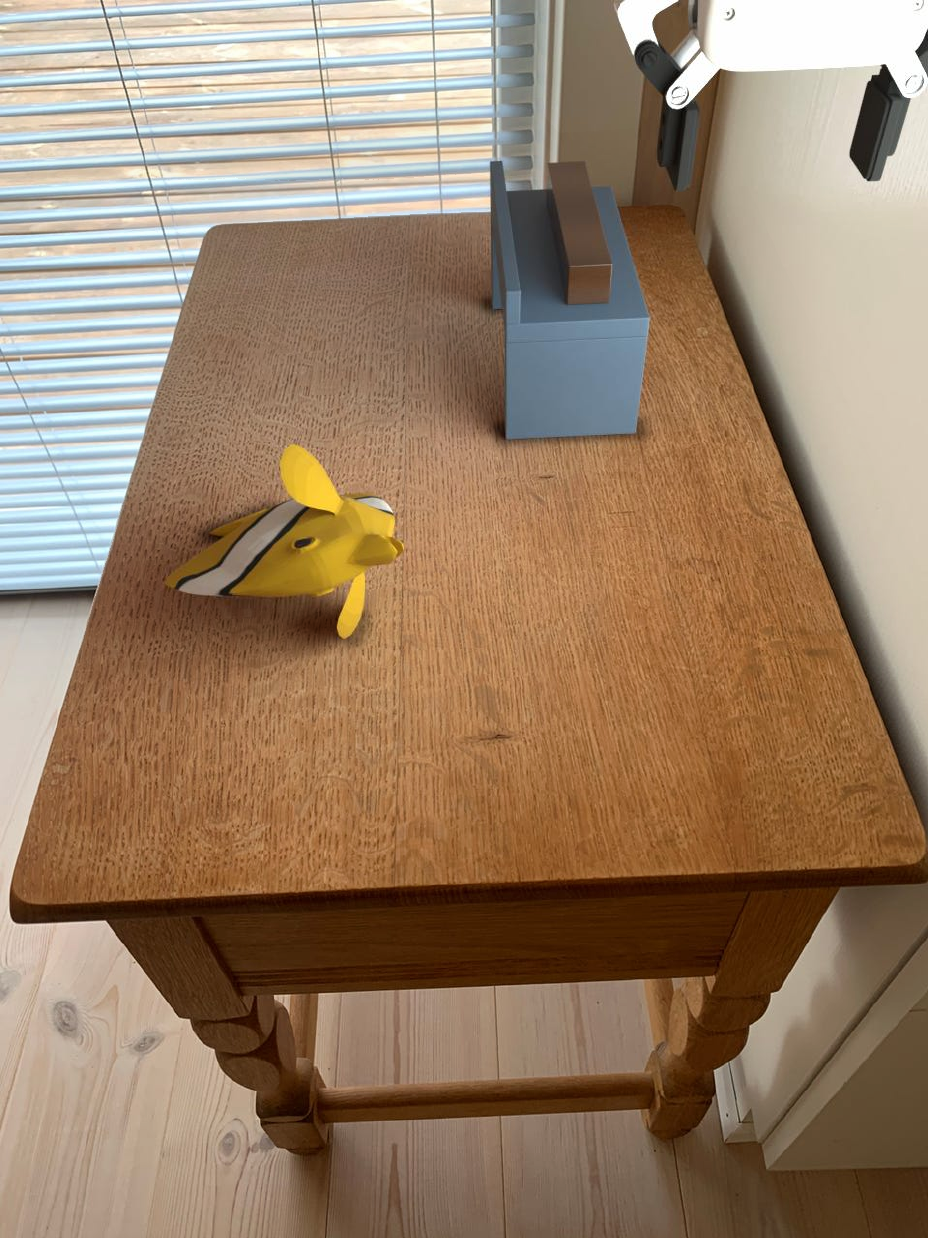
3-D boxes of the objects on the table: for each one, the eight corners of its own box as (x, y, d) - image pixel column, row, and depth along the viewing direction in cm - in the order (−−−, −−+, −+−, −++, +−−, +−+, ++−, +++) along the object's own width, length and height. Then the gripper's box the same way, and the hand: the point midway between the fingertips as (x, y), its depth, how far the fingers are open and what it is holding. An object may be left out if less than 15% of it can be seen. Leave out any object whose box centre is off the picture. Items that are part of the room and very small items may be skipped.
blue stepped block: (602, 295, 89) (613, 154, 79) (635, 433, 76) (654, 284, 66) (491, 300, 89) (490, 160, 79) (505, 439, 76) (505, 291, 66)
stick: (609, 303, 69) (612, 263, 67) (566, 305, 69) (568, 265, 67) (583, 197, 80) (585, 160, 78) (546, 199, 80) (547, 162, 78)
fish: (427, 419, 54) (171, 524, 49) (486, 617, 59) (259, 732, 54) (305, 400, 71) (103, 476, 65) (359, 556, 76) (176, 639, 70)
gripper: (651, -243, 35) (612, 217, 48) (1130, -266, 35) (964, 200, 48) (621, -274, 40) (593, 150, 53) (1042, -294, 40) (912, 135, 53)
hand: (770, 174), depth 51 cm, fingers open, 9 cm apart
